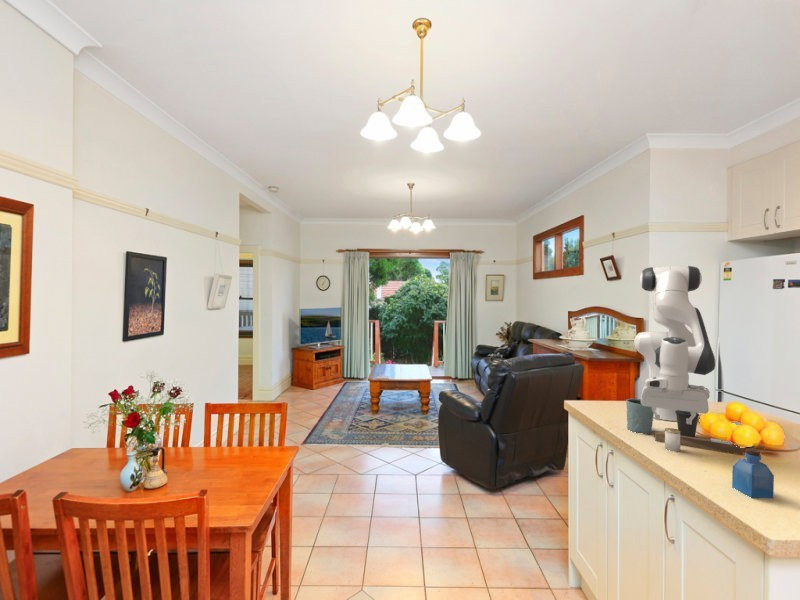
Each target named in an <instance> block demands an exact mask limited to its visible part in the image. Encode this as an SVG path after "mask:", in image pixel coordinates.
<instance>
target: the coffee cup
mask: <svg viewBox="0 0 800 600" xmlns="http://www.w3.org/2000/svg"><path fill="white" fill-rule="evenodd" d="M675 413H676V416H677V421H676V422H677V423H676V424H677V430H680V435H681V436H687V437H694V438H696V433H697V426H698V422H699V417H701V416H700V413H696V416H695V417H694V419H693V420H692V425H690V424H686V421H687V420H686V418H690V417H691V414H690V412H688V411H680V410H676V411H675Z"/></svg>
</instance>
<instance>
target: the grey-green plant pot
mask: <svg viewBox="0 0 800 600" xmlns="http://www.w3.org/2000/svg"><path fill="white" fill-rule="evenodd" d="M625 402H626V422H627V423H626V426H627V427H626V428H627V431H629V430H630V432H631V431H632V432H631V433H634V432H636V433H635V434H638V433H643V434H642V435H650V434H652V432H653V431H652V430H653V421H654V420H653V419H654V418H653V416H654V413H653V411H652V407H648V406H643V405H642V404H641V398H628V399H627V398H626V399H625ZM649 433H650V434H649Z"/></svg>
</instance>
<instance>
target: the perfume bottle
mask: <svg viewBox="0 0 800 600" xmlns="http://www.w3.org/2000/svg"><path fill="white" fill-rule="evenodd" d="M744 457H745V458H739V459H738V460H737V461H736V462H735V463H734V464H733V465H732V471H731V473H732V475H731V476H732V478H731V479H732V481H731V488H732V489H734V488H735V489H736V491H737V490H738V491H737V492H739V491H740V492H739V493H741V494H743V495H744V496H746V495H747V496H746V497H748V496H749V497H748V498H750V497H751V498H750V499H774V494H775V492H774V490H775V489H774V487H775V483H774V482H775V475H774V474H773V472H772V471H771V469H770V468H769V466H768V464H765V463H763V462H761V461H762V455H761V450H759V449H756V448H754V447H750V448H745V453H744ZM735 489H734V490H735Z"/></svg>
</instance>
